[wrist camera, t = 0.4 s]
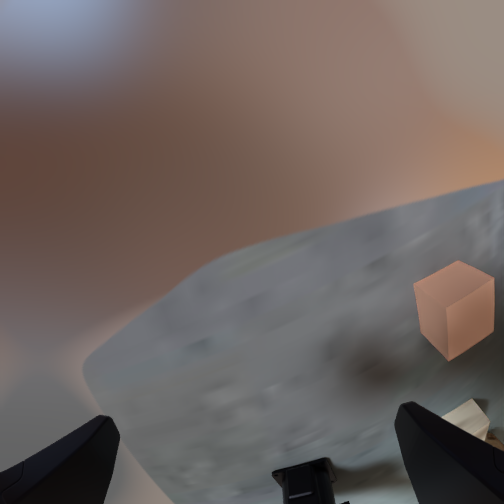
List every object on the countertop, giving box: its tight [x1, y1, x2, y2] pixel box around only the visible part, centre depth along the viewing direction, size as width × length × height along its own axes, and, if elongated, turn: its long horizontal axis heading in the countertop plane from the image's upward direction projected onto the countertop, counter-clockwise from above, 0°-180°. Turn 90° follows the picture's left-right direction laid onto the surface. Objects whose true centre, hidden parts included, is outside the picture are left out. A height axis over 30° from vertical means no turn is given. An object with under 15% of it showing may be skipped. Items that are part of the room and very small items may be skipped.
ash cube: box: [441, 398, 490, 441], centre depth 23 cm, size 5×5×5 cm
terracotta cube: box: [413, 260, 495, 362], centre depth 18 cm, size 5×5×5 cm
